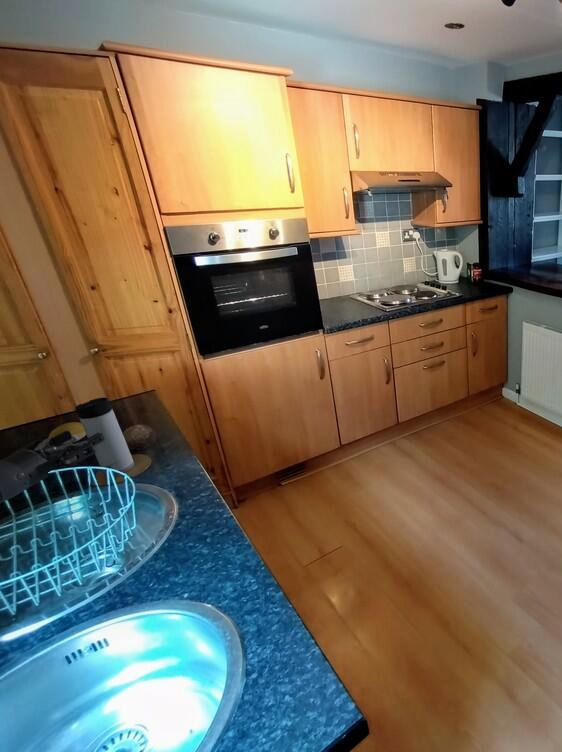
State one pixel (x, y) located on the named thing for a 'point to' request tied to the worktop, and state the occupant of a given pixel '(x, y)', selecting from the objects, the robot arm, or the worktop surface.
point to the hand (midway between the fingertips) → (85, 435)
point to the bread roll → (73, 427)
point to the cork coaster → (139, 466)
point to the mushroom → (139, 437)
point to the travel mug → (105, 434)
